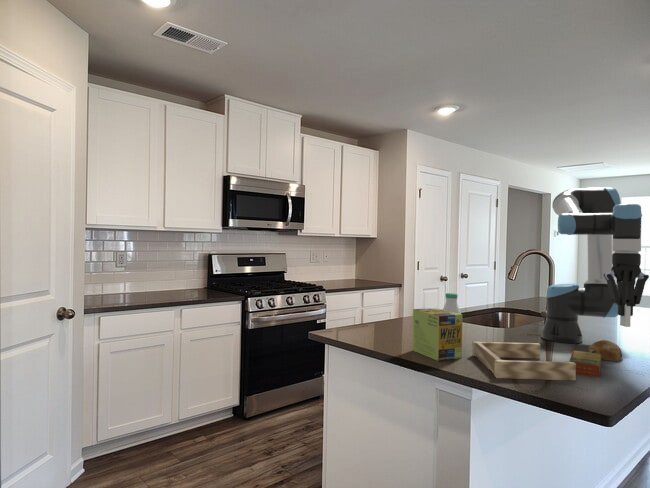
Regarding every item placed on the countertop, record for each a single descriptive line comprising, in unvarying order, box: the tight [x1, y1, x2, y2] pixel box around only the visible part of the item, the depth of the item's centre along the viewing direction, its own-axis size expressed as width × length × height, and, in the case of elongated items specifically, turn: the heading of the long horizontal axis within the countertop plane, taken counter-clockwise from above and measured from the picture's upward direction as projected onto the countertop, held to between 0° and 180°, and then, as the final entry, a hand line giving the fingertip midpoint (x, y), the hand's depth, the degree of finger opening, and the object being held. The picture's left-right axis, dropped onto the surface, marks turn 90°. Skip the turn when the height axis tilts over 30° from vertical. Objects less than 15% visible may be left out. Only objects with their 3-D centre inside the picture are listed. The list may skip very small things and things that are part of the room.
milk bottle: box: [442, 292, 462, 314], centre depth 170 cm, size 8×8×20 cm
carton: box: [568, 349, 602, 378], centre depth 138 cm, size 8×16×4 cm, turn 146°
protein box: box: [411, 307, 463, 362], centre depth 154 cm, size 10×15×16 cm
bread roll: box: [588, 339, 623, 362], centre depth 152 cm, size 10×10×8 cm
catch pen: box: [471, 341, 577, 381], centre depth 140 cm, size 23×25×5 cm
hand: (625, 325), depth 137 cm, fingers closed
